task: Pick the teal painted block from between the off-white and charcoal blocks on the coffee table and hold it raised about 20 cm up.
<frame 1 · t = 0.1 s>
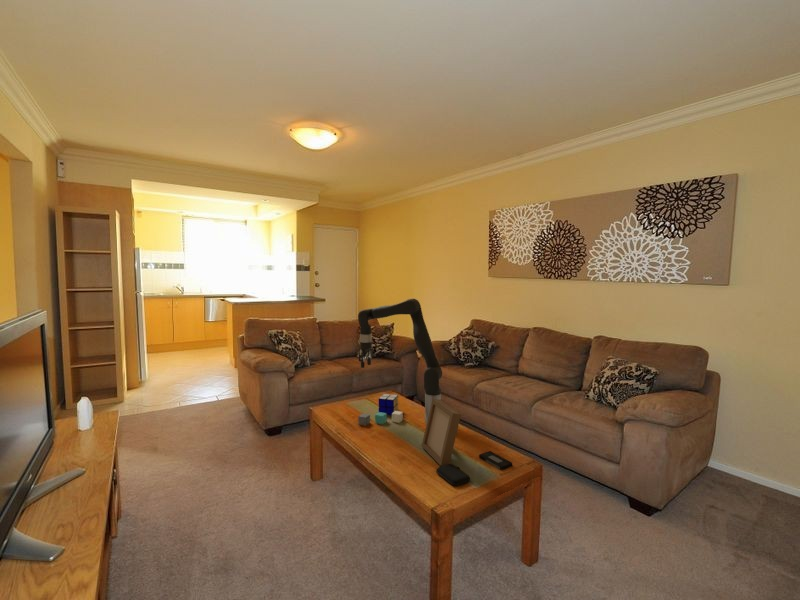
hand: (365, 366, 251), 29 cm above the table, fingers open, 8 cm apart
vhs tape: (495, 463, 187), on the table
carrying case or bag: (453, 478, 173), on the table
off-white block: (397, 420, 237), on the table
charcoal block: (364, 423, 233), on the table
teal block: (380, 422, 235), on the table
photo frame: (444, 455, 193), on the table
puzzle cube: (388, 412, 252), on the table
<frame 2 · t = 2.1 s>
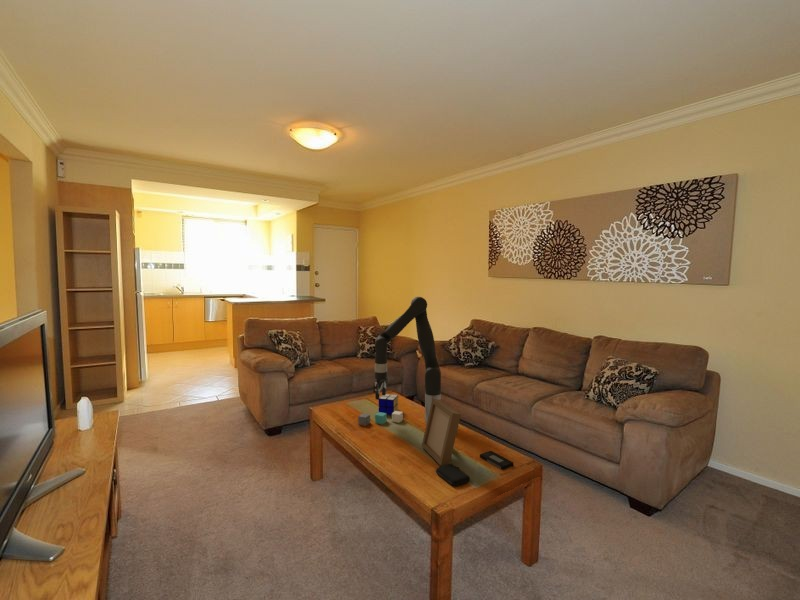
hand: (380, 397, 234), 15 cm above the table, fingers open, 8 cm apart
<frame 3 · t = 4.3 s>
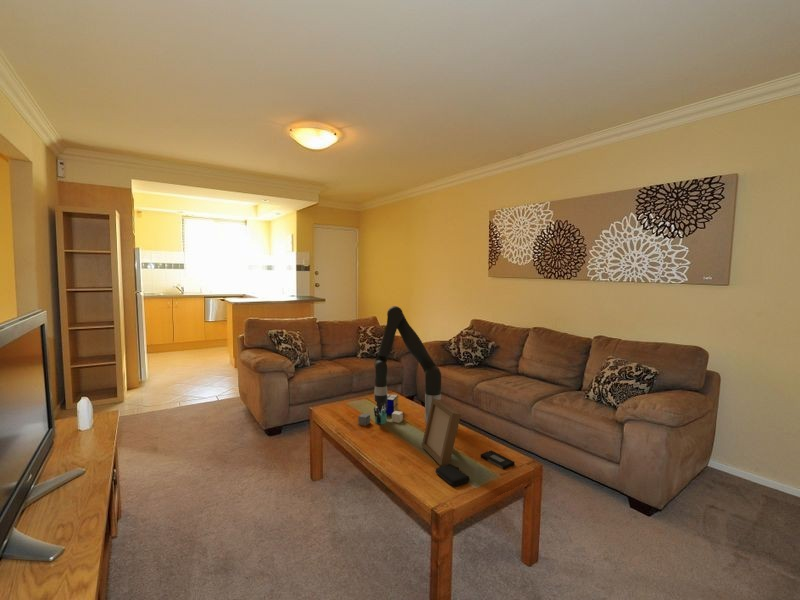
hand: (380, 421, 235), 1 cm above the table, fingers closed on teal block, 5 cm apart
teal block: (380, 422, 235), on the table, touching gripper
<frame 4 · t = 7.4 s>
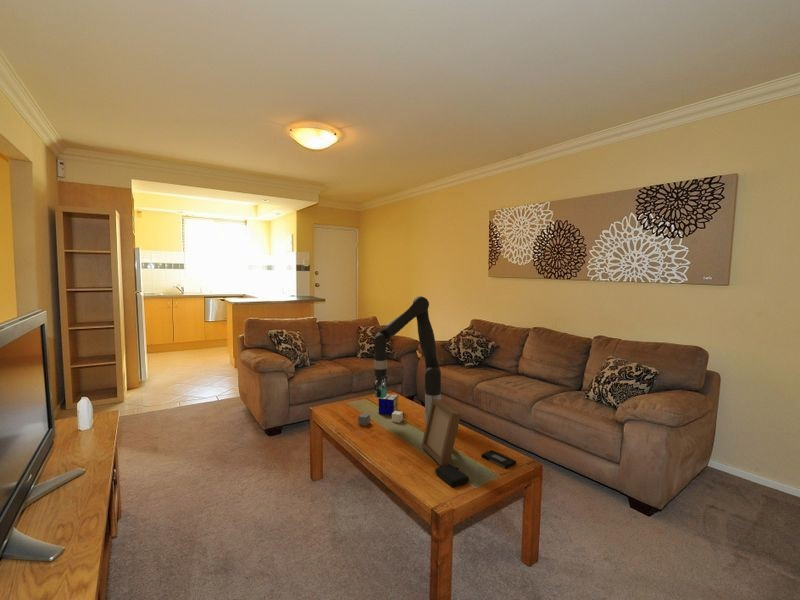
hand: (380, 395, 234), 16 cm above the table, fingers closed on teal block, 5 cm apart
teal block: (380, 396, 234), point 15 cm above the table, touching gripper
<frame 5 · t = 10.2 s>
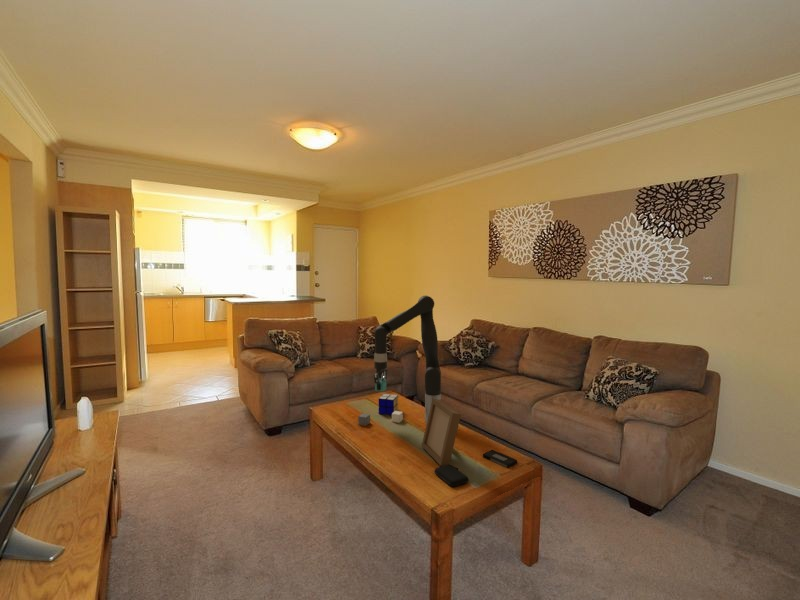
hand: (380, 388, 233), 20 cm above the table, fingers closed on teal block, 5 cm apart
teal block: (380, 389, 233), point 20 cm above the table, touching gripper
at the end: the gripper is holding teal block; teal block point 19.6 cm above the table; off-white block moved 0.1 cm from its start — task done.
